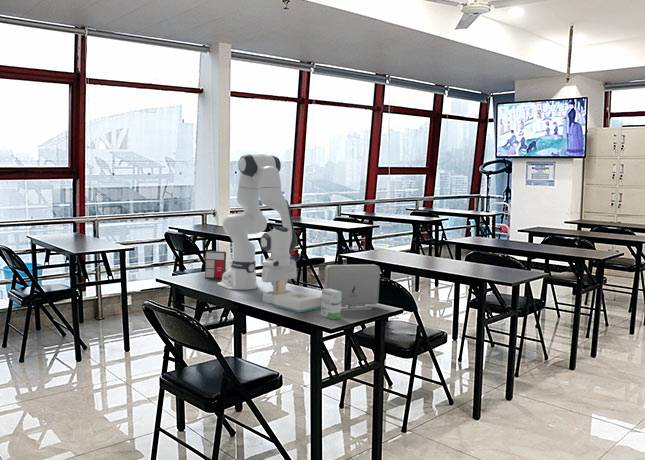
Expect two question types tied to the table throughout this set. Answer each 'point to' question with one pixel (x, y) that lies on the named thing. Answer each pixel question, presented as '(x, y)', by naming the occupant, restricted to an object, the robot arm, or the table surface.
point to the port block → (298, 301)
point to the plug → (280, 287)
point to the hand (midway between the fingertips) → (279, 289)
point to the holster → (272, 296)
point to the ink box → (331, 303)
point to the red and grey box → (215, 264)
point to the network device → (354, 284)
